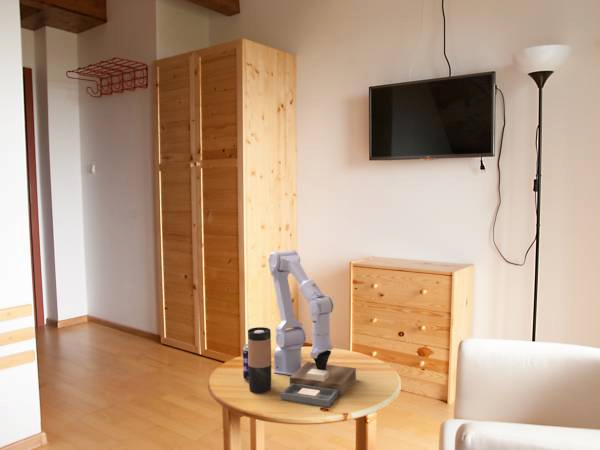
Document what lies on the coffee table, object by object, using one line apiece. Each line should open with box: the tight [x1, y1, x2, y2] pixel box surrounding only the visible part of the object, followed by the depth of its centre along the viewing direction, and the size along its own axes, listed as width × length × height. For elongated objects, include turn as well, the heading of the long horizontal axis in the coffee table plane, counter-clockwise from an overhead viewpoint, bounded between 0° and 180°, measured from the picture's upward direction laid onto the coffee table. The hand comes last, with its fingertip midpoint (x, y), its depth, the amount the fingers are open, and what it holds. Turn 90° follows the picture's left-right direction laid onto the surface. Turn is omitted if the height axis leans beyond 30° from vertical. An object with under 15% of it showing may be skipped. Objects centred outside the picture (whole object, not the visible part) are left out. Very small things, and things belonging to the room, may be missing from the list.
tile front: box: [297, 388, 320, 398], centre depth 161 cm, size 6×4×2 cm
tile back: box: [307, 369, 329, 381], centre depth 168 cm, size 6×4×2 cm
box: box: [280, 383, 339, 409], centre depth 162 cm, size 16×9×2 cm, turn 67°
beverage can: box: [242, 343, 249, 382], centre depth 178 cm, size 6×6×12 cm
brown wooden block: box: [289, 361, 357, 398], centre depth 173 cm, size 18×16×4 cm
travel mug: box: [247, 326, 272, 395], centre depth 169 cm, size 8×8×20 cm
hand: (321, 372), depth 171 cm, fingers closed
